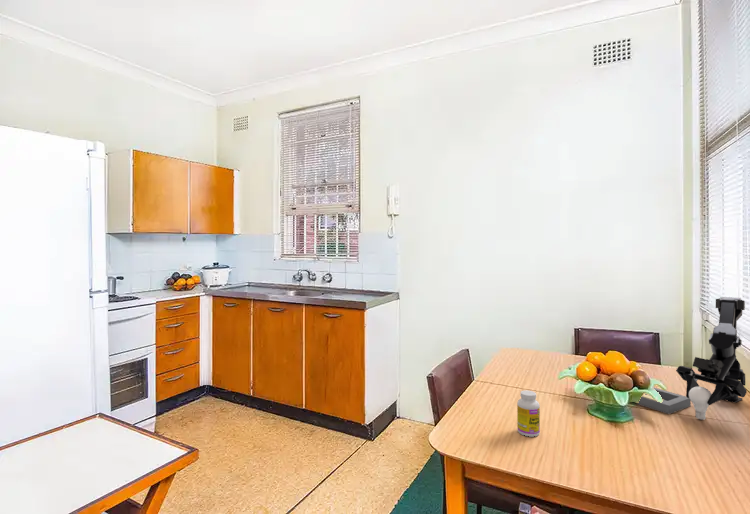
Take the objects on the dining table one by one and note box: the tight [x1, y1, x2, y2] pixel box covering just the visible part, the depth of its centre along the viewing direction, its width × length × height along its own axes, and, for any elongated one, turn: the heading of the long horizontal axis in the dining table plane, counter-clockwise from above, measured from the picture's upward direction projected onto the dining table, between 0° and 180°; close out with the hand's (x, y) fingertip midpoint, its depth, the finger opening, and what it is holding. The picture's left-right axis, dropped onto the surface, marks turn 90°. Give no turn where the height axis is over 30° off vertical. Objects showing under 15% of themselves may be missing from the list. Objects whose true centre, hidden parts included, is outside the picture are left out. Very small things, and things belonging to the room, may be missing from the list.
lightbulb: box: [689, 385, 712, 421], centre depth 137 cm, size 6×6×11 cm
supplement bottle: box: [516, 389, 541, 438], centre depth 131 cm, size 7×7×13 cm
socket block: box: [637, 387, 692, 415], centre depth 151 cm, size 14×13×3 cm
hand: (697, 400), depth 137 cm, fingers closed on lightbulb, 6 cm apart
